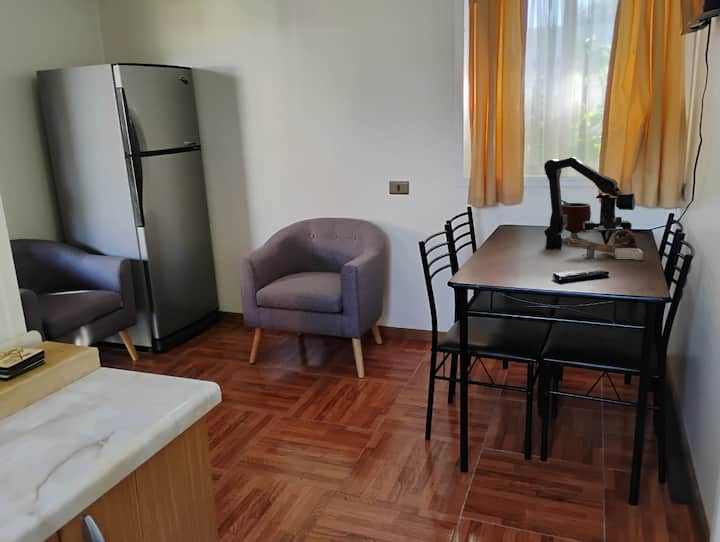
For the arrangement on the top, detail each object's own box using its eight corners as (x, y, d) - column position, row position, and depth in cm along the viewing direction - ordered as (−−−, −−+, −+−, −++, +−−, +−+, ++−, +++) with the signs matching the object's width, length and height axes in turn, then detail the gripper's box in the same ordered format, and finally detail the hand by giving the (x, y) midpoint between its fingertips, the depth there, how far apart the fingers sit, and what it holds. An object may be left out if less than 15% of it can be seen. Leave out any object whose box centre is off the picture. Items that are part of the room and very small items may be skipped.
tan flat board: (569, 246, 252) (570, 239, 251) (565, 239, 265) (566, 233, 264) (614, 253, 249) (616, 246, 248) (607, 246, 262) (609, 240, 262)
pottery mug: (641, 248, 270) (635, 233, 267) (620, 257, 272) (614, 243, 269) (631, 237, 281) (626, 222, 277) (611, 245, 283) (605, 231, 280)
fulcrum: (585, 259, 250) (586, 247, 249) (582, 255, 258) (583, 243, 257) (598, 259, 249) (599, 247, 248) (594, 255, 257) (595, 243, 256)
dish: (616, 259, 248) (616, 252, 247) (612, 255, 255) (613, 248, 255) (642, 259, 246) (643, 252, 246) (638, 256, 253) (638, 248, 253)
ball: (641, 252, 248) (636, 258, 249) (639, 251, 251) (634, 257, 252) (635, 248, 248) (630, 254, 249) (633, 247, 251) (628, 252, 252)
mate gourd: (576, 236, 299) (578, 196, 294) (595, 241, 286) (598, 199, 281) (549, 239, 294) (551, 198, 290) (567, 244, 281) (570, 201, 277)
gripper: (587, 212, 251) (585, 249, 255) (635, 211, 248) (633, 248, 251) (583, 208, 262) (581, 243, 266) (629, 207, 258) (627, 243, 262)
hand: (605, 245), depth 261 cm, fingers closed, pressing on tan flat board
